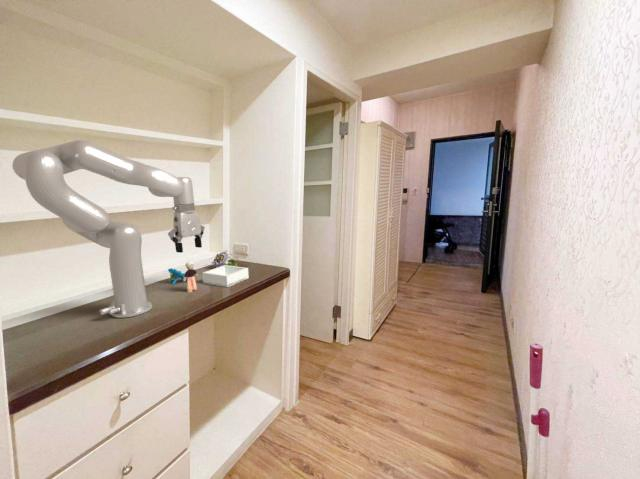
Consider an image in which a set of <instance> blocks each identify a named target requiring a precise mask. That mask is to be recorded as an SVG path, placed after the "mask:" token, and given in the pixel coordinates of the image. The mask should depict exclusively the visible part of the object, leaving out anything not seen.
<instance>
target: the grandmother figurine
mask: <svg viewBox="0 0 640 479" xmlns="http://www.w3.org/2000/svg"><path fill="white" fill-rule="evenodd" d="M194 265H195V264H194V262H193V261H187V262H186V263H185V268H186V269H187V270H186V271H185V272H184V274H185V275H184V278H183V280H182V282H186V293H187V294H190V293H193V292H195V291H197V290H198V288H197V282H196V277H198V276H199V275H198V272H197V271H196V270H195V269H194ZM186 278H187V281H186Z"/></svg>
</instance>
